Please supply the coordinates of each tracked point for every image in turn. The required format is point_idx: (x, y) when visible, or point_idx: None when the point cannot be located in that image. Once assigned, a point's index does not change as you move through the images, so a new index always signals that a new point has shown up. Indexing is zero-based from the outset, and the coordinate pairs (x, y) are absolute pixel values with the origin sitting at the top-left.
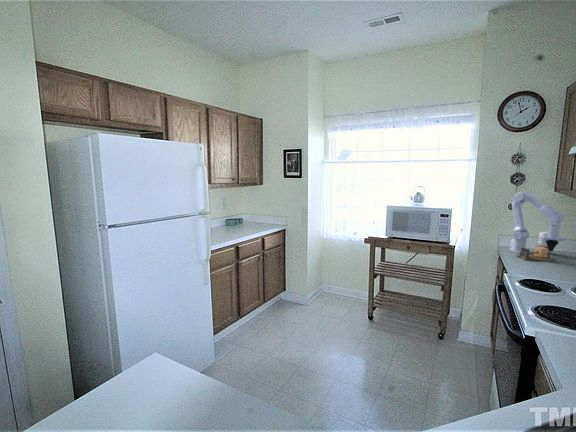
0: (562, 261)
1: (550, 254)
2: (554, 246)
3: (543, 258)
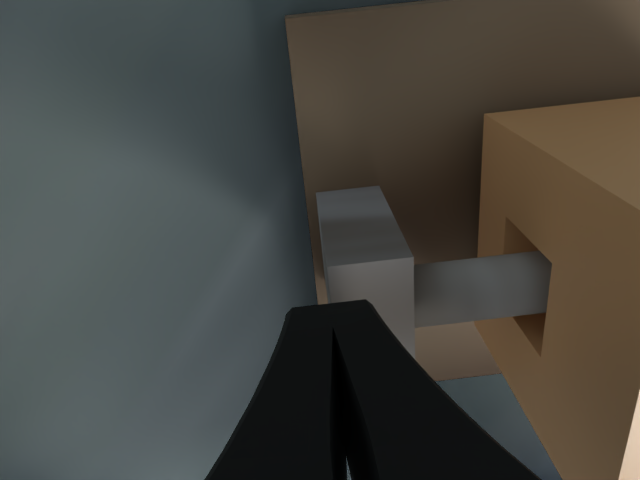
0: (60, 81)
1: (345, 231)
2: (266, 471)
3: (615, 44)
